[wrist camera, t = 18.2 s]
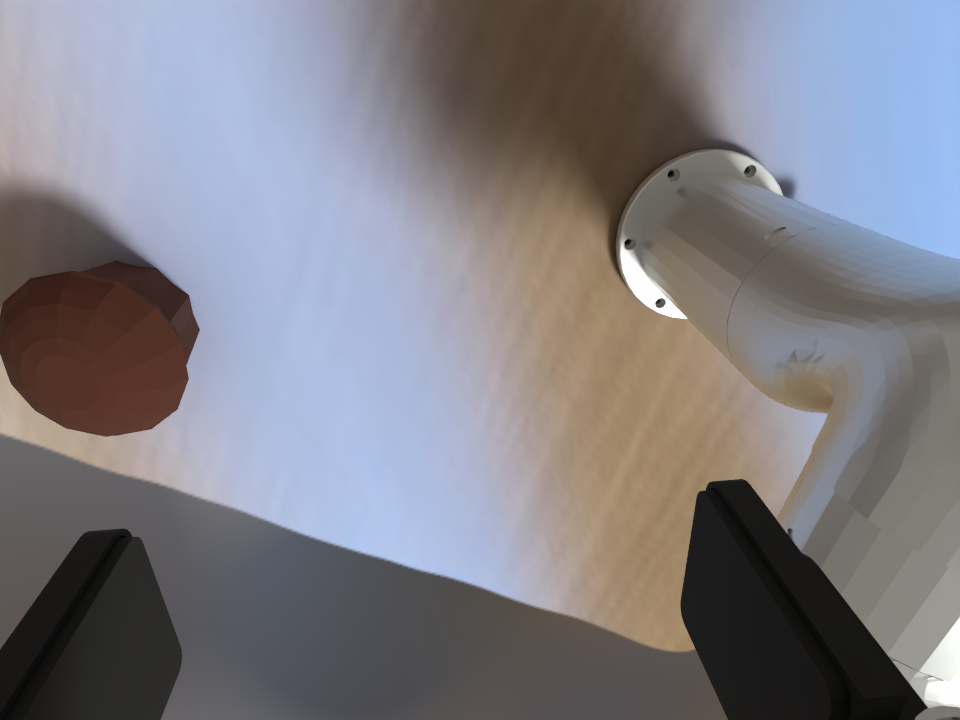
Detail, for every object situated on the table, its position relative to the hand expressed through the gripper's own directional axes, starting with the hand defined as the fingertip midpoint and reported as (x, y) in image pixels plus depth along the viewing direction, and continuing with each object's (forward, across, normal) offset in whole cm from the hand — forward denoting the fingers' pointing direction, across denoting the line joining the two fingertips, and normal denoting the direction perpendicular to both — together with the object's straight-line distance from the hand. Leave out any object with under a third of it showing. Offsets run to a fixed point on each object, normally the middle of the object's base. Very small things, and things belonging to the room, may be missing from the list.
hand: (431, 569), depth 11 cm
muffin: (+37, +22, +9) cm, 44 cm away
